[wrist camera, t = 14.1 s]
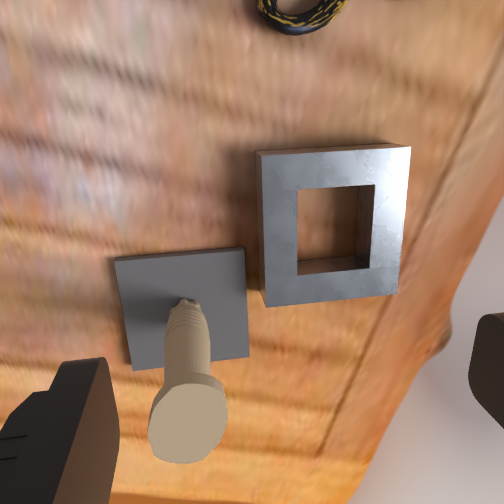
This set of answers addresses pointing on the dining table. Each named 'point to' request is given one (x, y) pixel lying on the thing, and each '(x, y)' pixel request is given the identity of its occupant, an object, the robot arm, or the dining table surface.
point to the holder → (368, 221)
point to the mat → (184, 287)
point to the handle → (187, 392)
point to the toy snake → (299, 16)
